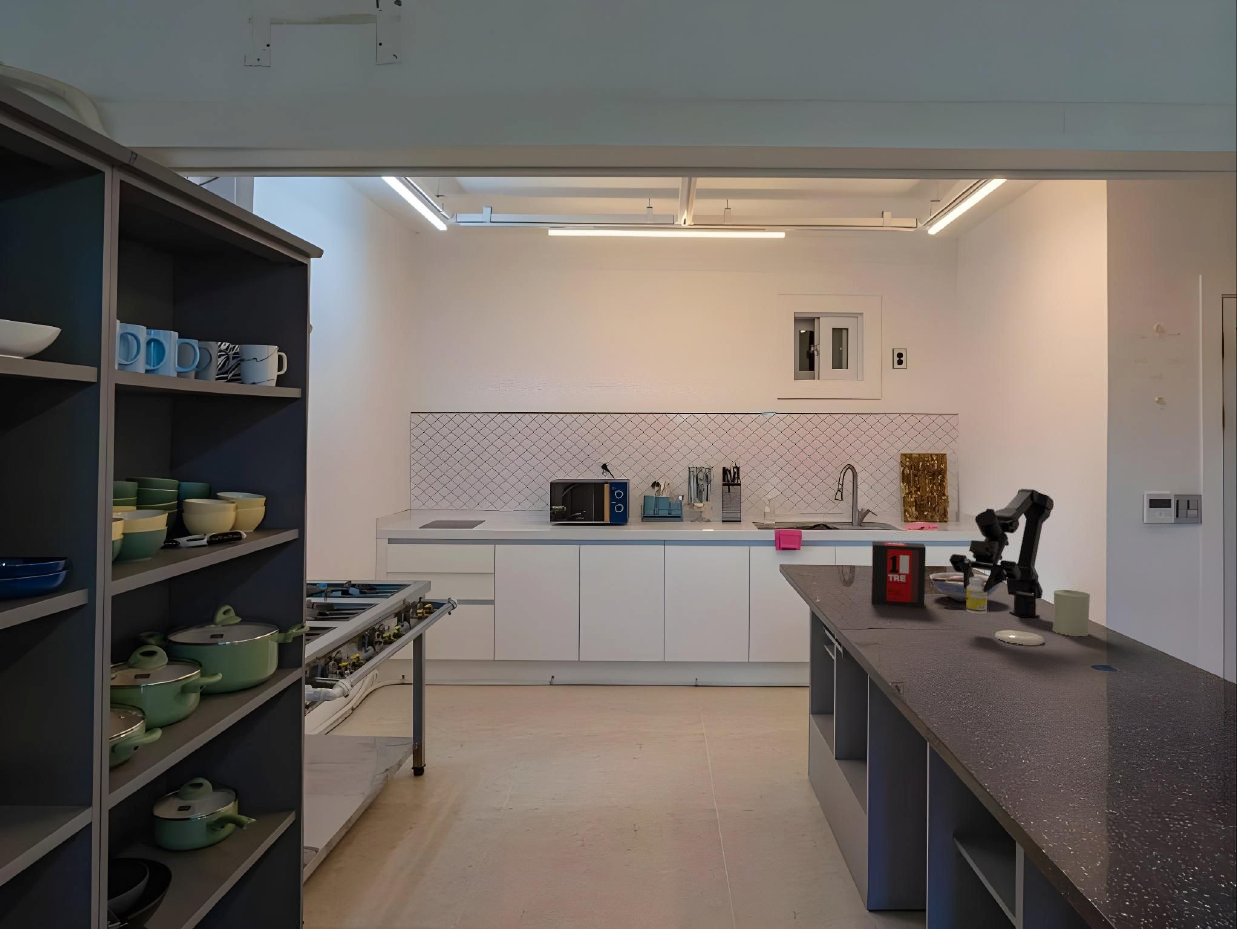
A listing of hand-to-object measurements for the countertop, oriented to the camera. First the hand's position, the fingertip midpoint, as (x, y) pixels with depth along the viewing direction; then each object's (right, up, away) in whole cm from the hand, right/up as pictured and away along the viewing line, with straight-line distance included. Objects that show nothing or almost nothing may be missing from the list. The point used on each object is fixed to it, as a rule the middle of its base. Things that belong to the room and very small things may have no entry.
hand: (974, 589), depth 224 cm
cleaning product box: (-8, -11, +40) cm, 42 cm away
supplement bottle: (+1, -7, +1) cm, 7 cm away
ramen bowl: (+18, -11, +46) cm, 51 cm away
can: (+29, -13, +2) cm, 32 cm away
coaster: (+10, -13, -6) cm, 17 cm away
